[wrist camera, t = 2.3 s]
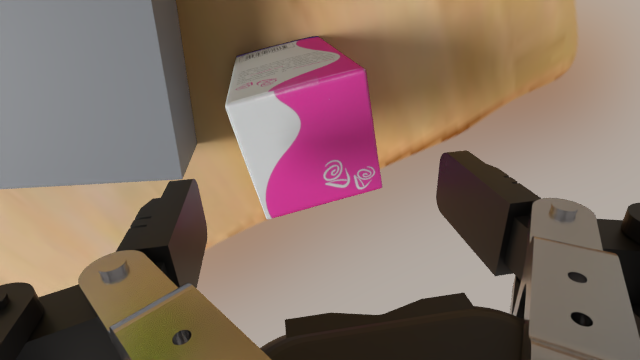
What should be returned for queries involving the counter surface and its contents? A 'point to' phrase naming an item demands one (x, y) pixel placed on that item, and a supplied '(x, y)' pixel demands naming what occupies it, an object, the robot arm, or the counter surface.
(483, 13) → the counter surface
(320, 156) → the supplement box
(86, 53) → the stacking block
